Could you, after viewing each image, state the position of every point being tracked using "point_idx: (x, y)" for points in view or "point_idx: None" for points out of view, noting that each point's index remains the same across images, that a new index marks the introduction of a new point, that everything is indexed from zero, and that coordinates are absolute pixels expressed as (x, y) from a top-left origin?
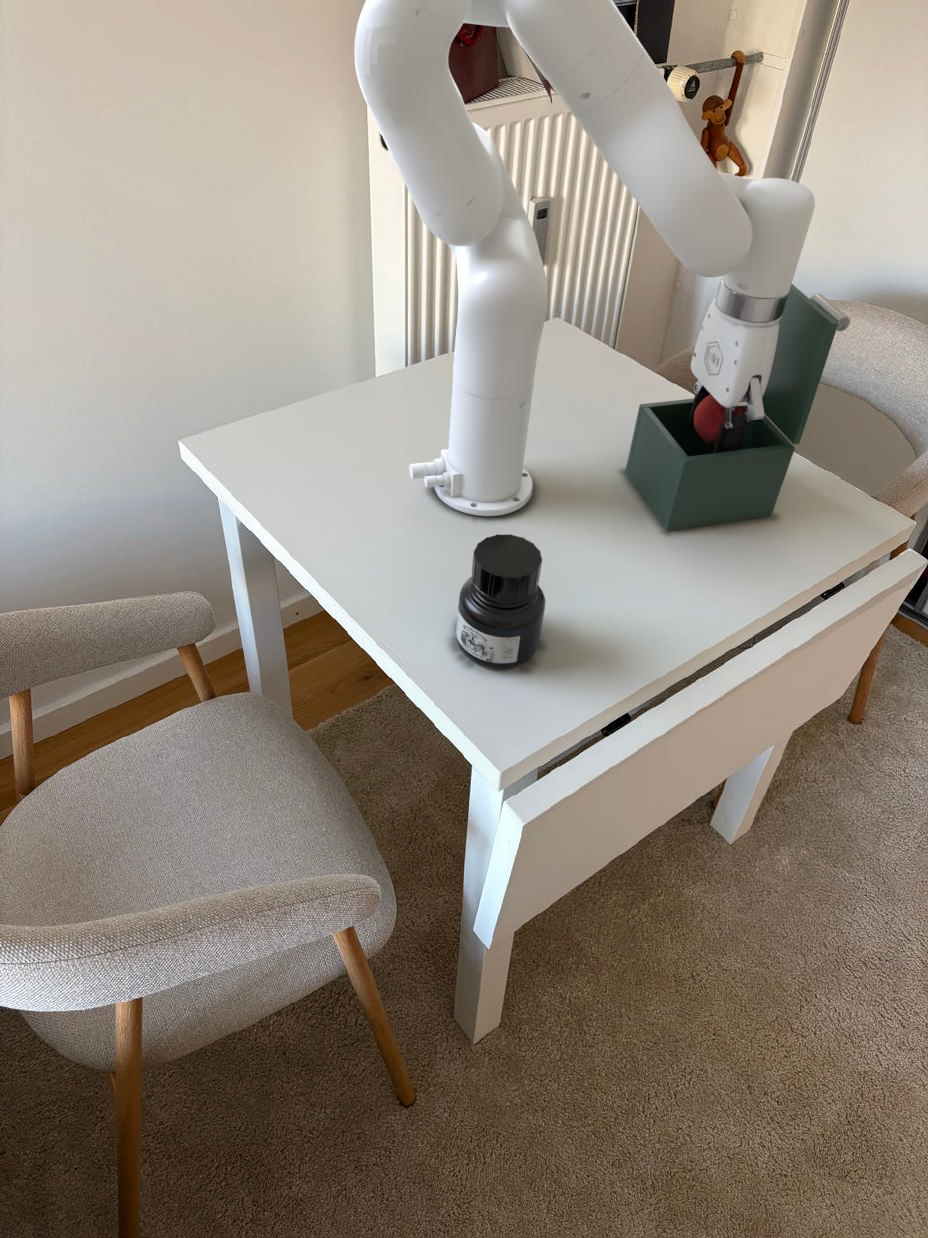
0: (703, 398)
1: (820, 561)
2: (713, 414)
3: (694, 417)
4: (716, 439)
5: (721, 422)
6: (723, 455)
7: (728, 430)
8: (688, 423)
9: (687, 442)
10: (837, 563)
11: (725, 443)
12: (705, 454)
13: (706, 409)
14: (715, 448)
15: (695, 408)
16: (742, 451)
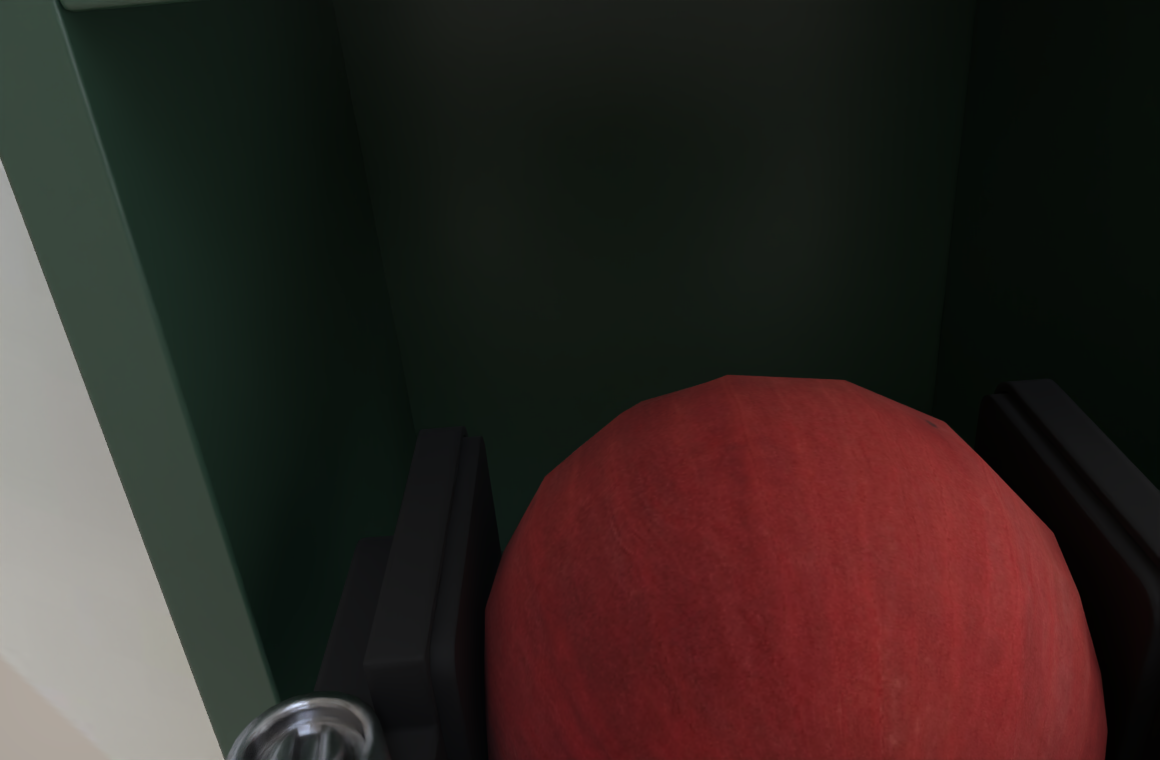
0: (1139, 665)
1: (53, 637)
2: (621, 660)
3: (866, 416)
4: (442, 508)
5: (516, 680)
6: (133, 472)
7: (357, 693)
8: (1115, 395)
9: (1018, 339)
10: (48, 693)
11: (375, 570)
12: (132, 275)
13: (758, 617)
14: (431, 453)
15: (1079, 503)
16: (232, 669)
